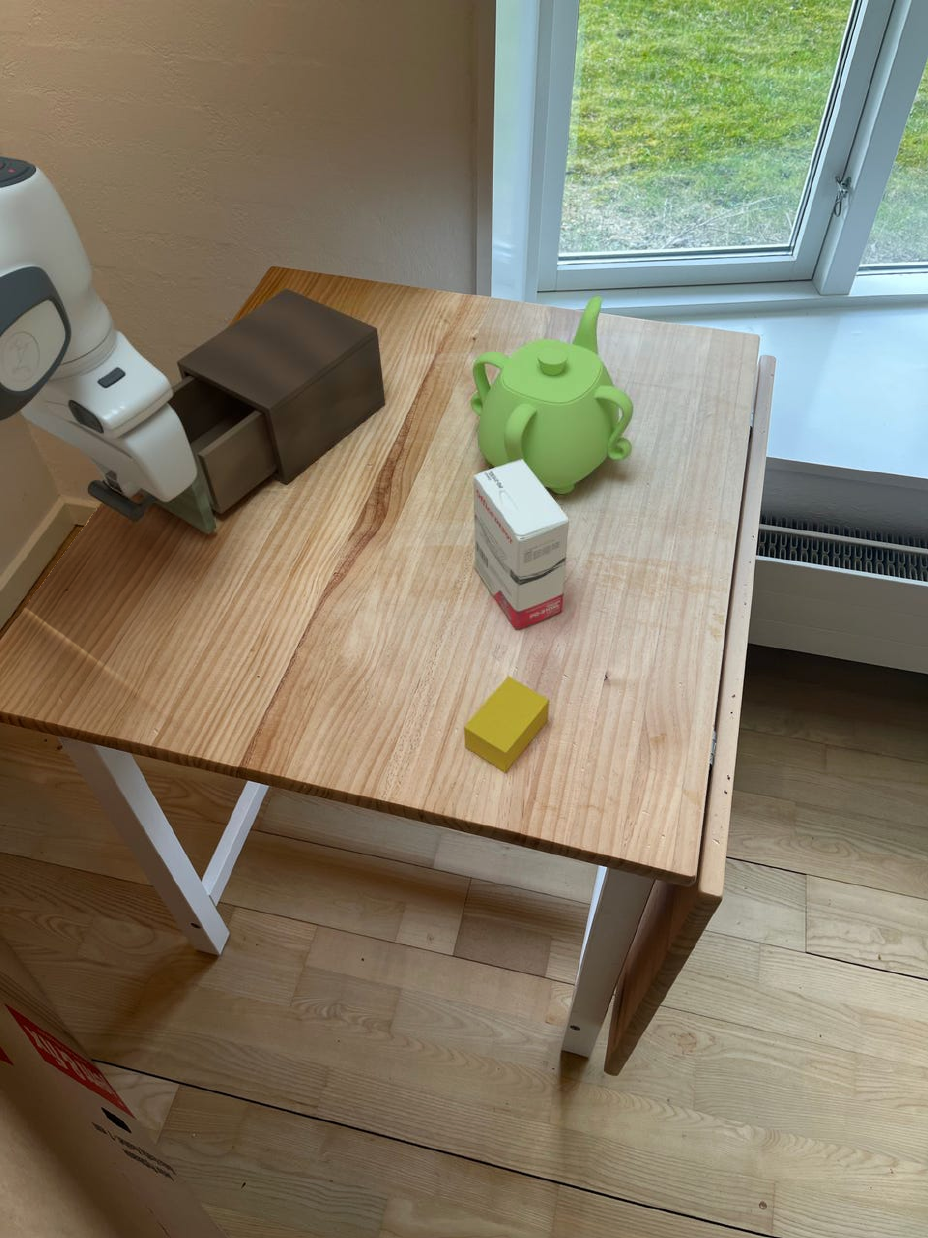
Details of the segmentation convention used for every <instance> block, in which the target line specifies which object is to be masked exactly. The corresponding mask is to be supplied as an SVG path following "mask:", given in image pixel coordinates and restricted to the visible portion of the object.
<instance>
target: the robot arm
mask: <svg viewBox="0 0 928 1238" xmlns="http://www.w3.org/2000/svg"><path fill="white" fill-rule="evenodd" d="M172 387H173V386H172V385H171V383H170V380H169V379H168V377H166V375H165V374H164V373H163V372H161V371H160V370H159V369H158V368H157V367H155V366H154V365H153V364H152V363H150V361H148V360H147V359H146V358H145V357H144V356H143V355H141V353H139V352H138V350H137V349H135V347H134V346H133V345H132V344H131V342H130V341H129V340H128V339H127V337H126V336H125V335H124V334H123V333H122V332H121V331H120V330H117V327H116V325H115V322H114V320H113V317H112V315H111V313H110V310H109V308H108V307H107V304H105V303H104V301H103V300H102V299H101V297H100V296H99V295H98V293H97V291H96V289H95V285H94V273H93V269H92V265H91V262H90V259H89V257H88V254H87V252H86V249H85V246H84V244H83V242H82V239H81V237H80V235H79V233H78V230H77V228H76V226H75V223H74V221H73V219H72V217H71V215H70V213H69V210H68V209H67V207H66V205H65V203H64V201H63V199H62V198H61V196H60V194H59V193H58V191H57V190H56V188H55V186H54V185H53V183H52V181H51V180H49V178H48V177H47V175H46V174H45V173H44V172H43V171H42V170H41V169H40V168H39V167H38V166H37V165H35V164H33V163H30V162H28V161H26V160H24V159H18V158H13V157H9V156H8V157H7V156H0V422H1V421H4V420H7V419H9V418H11V417H13V416H14V415H16V414H17V413H18V412H20V414H21V415H22V416H23V417H24V418H25V419H26V420H28V421H29V422H30V423H32V424H34V425H35V426H36V427H37V426H38V427H39V428H41V429H42V430H44V431H46V432H47V433H49V434H51V435H52V436H54V437H56V438H57V439H59V440H60V441H62V442H64V443H65V444H67V445H68V446H70V447H72V448H73V449H75V450H77V451H79V452H80V453H82V454H84V455H85V457H86V458H87V459H88V460H89V461H90V463H91V464H92V465H93V466H94V467H95V468H96V469H97V470H98V472H99V473H100V474H101V476H102V478H103V480H105V482H106V484H107V485H109V486H110V487H111V488H113V489H114V490H116V491H118V492H119V493H121V494H123V495H124V496H126V497H127V498H133V496H134V495H136V494H137V493H139V492H138V491H140V489H141V488H142V489H143V490H145V491H147V492H148V493H150V494H152V495H153V496H155V497H156V498H158V499H160V500H161V501H163V502H168V501H171V500H172V499H174V498H175V497H176V496H178V495H179V494H180V493H182V492H183V491H184V490H185V489H187V488H188V487H189V486H190V485H191V484H192V483H193V482H194V480H195V478H196V476H197V468H196V464H195V461H194V457H193V454H192V451H191V448H190V445H189V442H188V439H187V436H186V434H185V431H184V428H183V426H182V424H181V422H180V420H179V418H178V416H177V414H176V413H175V411H174V410H173V409H172V407H171V406H170V405H169V404H168V403H167V401H169V400H170V399H171V398H172V397H173V390H172Z"/></svg>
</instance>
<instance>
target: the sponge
mask: <svg viewBox="0 0 928 1238" xmlns="http://www.w3.org/2000/svg"><path fill="white" fill-rule="evenodd" d="M549 710H550V699H549V698H547V697H545V696H544V695H542V694H540V693H539V692H537V691H536V690H533V689H532V688H530V687H528V686H526V685H525V684H523V683H521V682H520V681H518V680H517V679H514V678H513V677H511V676H506V678H505V679H504V680H503V681H502V683H501V684H500V685H499V686H498V687H497V688H496V690H495V691H494V692H493V693H492V694H491V695H490V696H489V697H488V699H486V701H485V702H484V703H483V704H482V705H481V707H480V708H479V709H478V710H477V711H476V712H475V713H474V715H472V717H471V718H470V719H469V720H468V722H467V723H466V724H465V725H464V726H463V733H464V734H463V735H464V747H465V748H466V749H468V750H469V751H470V752H472V753H474V754H475V755H477V756H479V757H480V758H482V759H484V760H485V761H486V762H488V763H490V764H491V765H493V766H494V767H496V768H497V769H499V770H501V771H502V772H504V773H506V772H507V771H508V770H509V769H510V768H511V766H512V765H513V764H514V763H515V761H516V760H517V759H518V758H519V757H520V755H521V754H522V753H523V752H524V750H525V749H526V747H528V745H529V744H530V743H531V742H532V741H533V739H534V738H535V737H536V735H537V734H538V733H539V732H540V731H541V729H542V728H543V727H544V726H545V725H546V723H547V722H548V720H549Z"/></svg>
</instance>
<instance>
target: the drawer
mask: <svg viewBox="0 0 928 1238" xmlns="http://www.w3.org/2000/svg"><path fill="white" fill-rule="evenodd" d="M171 387H172V390H173V397H172V398H171V399H170V400H169V401H167V403H168V404H169V405H170V406H171V407H172V409H173V410H174V411H175V413H176V414H177V416H178V418H179V420H180V422H181V424H182V426H183V428H184V431H185V434H186V436H187V439H188V442H189V445H190V448H191V451H192V454H193V457H194V461H195V464H196V468H197V476H196V478H195V480H194V482H193V483H192V484H191V485H190V486H189V487H188V488H187V489H185V490H184V491H183V492H182V493H180V494H179V495H178V496H176V497H175V498H174V499H172V500H171V501H168V502H163V501H161V500H160V499H158V498H156V497H155V496H153V495H152V494H150V493H148V492H147V491H145V490H143V489H142V488H141V489H140V491H138V492H137V493H139V494H140V495H142V496H143V497H144V498H143V499H142V500H140V501H139V502H138V503H137V501H134V500H133V499H131V498H130V497H127V496H125V495H124V494H122V493H121V492H119V491H118V490H116V489H114V488H112V487H111V486H109V485H107V484H106V482H105V480H104V479H103V480H99V479H93V480H91V482H89V484H88V486H87V489H86V490H87V493H88V495H90V497H92V498H94V499H96V500H97V501H99V502H100V503H102V504H103V505H105V506H107V507H108V508H110V509H111V510H113V511H115V512H116V513H118V514H119V515H121V516H122V517H124V518H126V519H127V520H129V521H131V522H132V523H138V522H140V521H141V520H142V519H143V518H144V516H145V512H146V511H145V510H147V509H148V508H149V507H151V506H152V505H153V504H154V503H155V504H157V505H158V506H160V507H161V508H163V509H165V510H166V511H168V512H170V513H172V514H173V515H174V516H177V517H178V518H179V519H182V520H183V521H185V522H186V523H188V524H190V525H191V526H193V527H195V528H196V529H198V530H200V531H201V532H203V533H204V534H206V535H210V534H211V533H212V532H214V531H215V530H216V529H217V523H216V520H215V518H214V514H213V511H215V512H217V513H219V514H221V515H223V513H224V512H226V511H227V510H229V509H230V508H231V507H232V506H233V505H235V504H236V503H237V502H239V501H240V500H241V499H242V498H244V497H245V496H246V495H247V494H248V493H250V492H251V491H252V490H253V489H255V488H256V487H257V486H258V485H260V484H261V483H262V482H263V481H264V480H266V479H267V478H269V477H270V476H269V475H271V474H272V473H273V472H274V471H276V470H277V469H278V467H277V463H276V459H275V455H274V450H273V446H272V442H271V438H270V433H269V429H268V425H267V421H266V416H265V413H264V412H262V411H260V410H259V409H257V408H255V407H253V406H251V405H249V404H247V403H245V402H243V401H241V400H239V399H237V398H235V397H233V396H231V395H229V394H228V393H226V392H224V391H222V390H220V389H218V388H216V387H214V386H212V385H210V384H208V383H206V382H204V381H202V380H200V379H198V378H197V377H195V376H193V375H191V374H190V375H189V376H188V377H186V378H185V379H183V380H182V379H181V380H180V381H178V383H175V385H174V384H173V386H171Z"/></svg>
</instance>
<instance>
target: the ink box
mask: <svg viewBox="0 0 928 1238" xmlns="http://www.w3.org/2000/svg"><path fill="white" fill-rule="evenodd" d="M473 511H474V512H473V513H474V516H473V517H474V519H473V520H474V522H473V523H474V570H475V571H476V572H477V573H478V575H479V577H480V579H481V580H482V581H483V583H484V584H485V586H486V588H487V589H488V590H489V592H490V594H491V596H493V598H494V599H495V602H496V603H497V604H498V606H499V607H500V608H501V610H502V612H503V613H504V615H505V616H506V617H507V619H508V621H509V622H510V624H511V625H512V627H513V629H515V630H522V629H524V628H527V627H529V626H532V625H536V624H537V623H540V622H543V621H544V620H547V619H549V618H552V617H554V616H556V615H559V614H560V613H562V612H563V601H564V591H565V575H566V565H567V564H566V562H567V548H568V537H569V525H570V519H569V517H568V516H567V514H566V513H565V512H564V511H563V509H562V508H561V506H560V505H559V503H557V501H556V500H555V499H554V498H553V496H552V495H551V493H549V491H548V490H547V488H546V487H544V486H543V485H542V484H541V482H540V481H539V480H538V478H537V477H536V476H535V475H534V473H533V472H532V471H531V470H530V468H529V467H528V466H527V464H526V463H525V462H524V461H523V460H522V459H520V460H517V461H514V462H511V463H508V464H505V465H502V466H499V467H495V468H494V467H493V468H490V469H487V470H483V471H481V472H478V473H475V474H474V475H473Z"/></svg>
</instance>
